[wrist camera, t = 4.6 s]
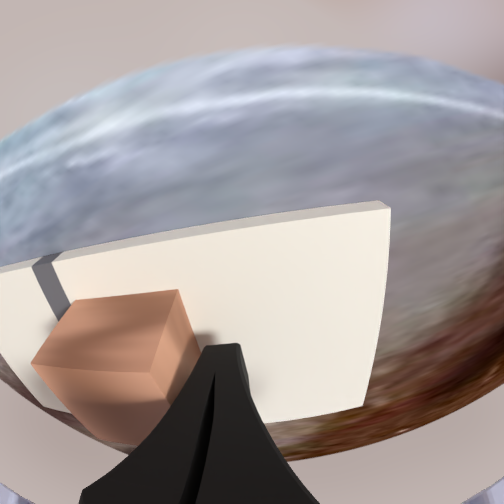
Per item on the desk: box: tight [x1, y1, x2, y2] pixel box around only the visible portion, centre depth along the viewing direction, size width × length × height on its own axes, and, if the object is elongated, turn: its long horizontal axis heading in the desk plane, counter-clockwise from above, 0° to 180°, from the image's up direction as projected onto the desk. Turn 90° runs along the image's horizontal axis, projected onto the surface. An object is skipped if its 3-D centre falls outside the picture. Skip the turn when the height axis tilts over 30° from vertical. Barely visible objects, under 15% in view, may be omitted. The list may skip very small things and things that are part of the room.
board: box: [0, 200, 391, 423], centre depth 12 cm, size 24×12×1 cm, turn 99°
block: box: [30, 289, 201, 446], centre depth 9 cm, size 5×5×4 cm
